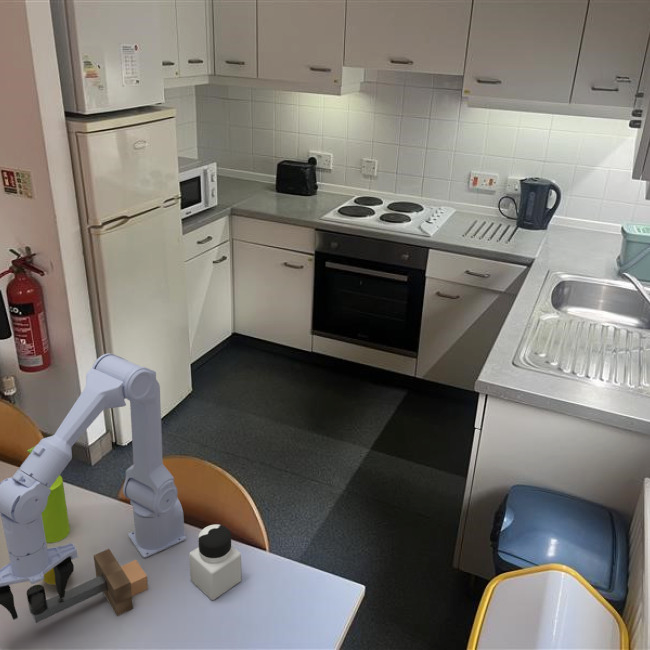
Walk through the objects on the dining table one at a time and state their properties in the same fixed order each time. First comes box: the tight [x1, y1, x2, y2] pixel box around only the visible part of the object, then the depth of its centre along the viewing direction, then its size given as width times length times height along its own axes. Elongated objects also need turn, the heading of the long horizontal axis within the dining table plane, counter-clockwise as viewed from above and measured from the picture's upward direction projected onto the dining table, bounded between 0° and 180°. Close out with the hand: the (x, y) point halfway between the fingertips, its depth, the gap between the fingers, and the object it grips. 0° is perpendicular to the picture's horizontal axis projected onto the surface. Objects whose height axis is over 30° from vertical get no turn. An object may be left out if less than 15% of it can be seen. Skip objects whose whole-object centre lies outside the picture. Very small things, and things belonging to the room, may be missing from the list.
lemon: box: [42, 568, 56, 586], centre depth 120 cm, size 6×6×8 cm
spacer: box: [120, 559, 149, 597], centre depth 121 cm, size 4×5×4 cm
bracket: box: [93, 548, 134, 617], centre depth 118 cm, size 3×10×6 cm, turn 38°
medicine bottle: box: [188, 523, 242, 601], centre depth 121 cm, size 7×7×12 cm
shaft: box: [26, 575, 108, 624], centre depth 113 cm, size 15×3×6 cm, turn 128°
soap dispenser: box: [26, 446, 71, 544], centre depth 129 cm, size 6×7×20 cm
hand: (37, 604), depth 109 cm, fingers open, 7 cm apart
